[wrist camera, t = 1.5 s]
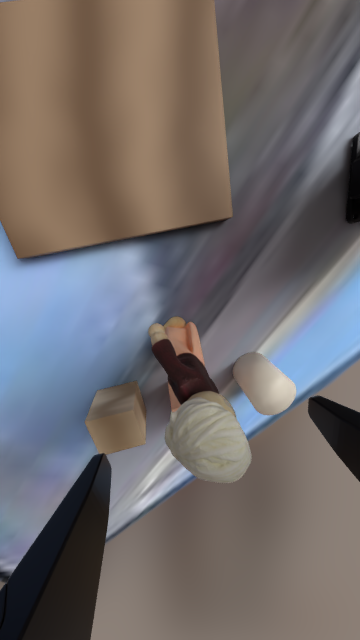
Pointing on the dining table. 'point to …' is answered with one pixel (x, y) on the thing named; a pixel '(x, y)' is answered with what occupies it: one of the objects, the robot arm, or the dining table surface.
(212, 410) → the grandmother figurine
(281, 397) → the off-white cylinder
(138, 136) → the walnut board
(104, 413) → the beech block
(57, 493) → the dining table surface
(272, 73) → the dining table surface
